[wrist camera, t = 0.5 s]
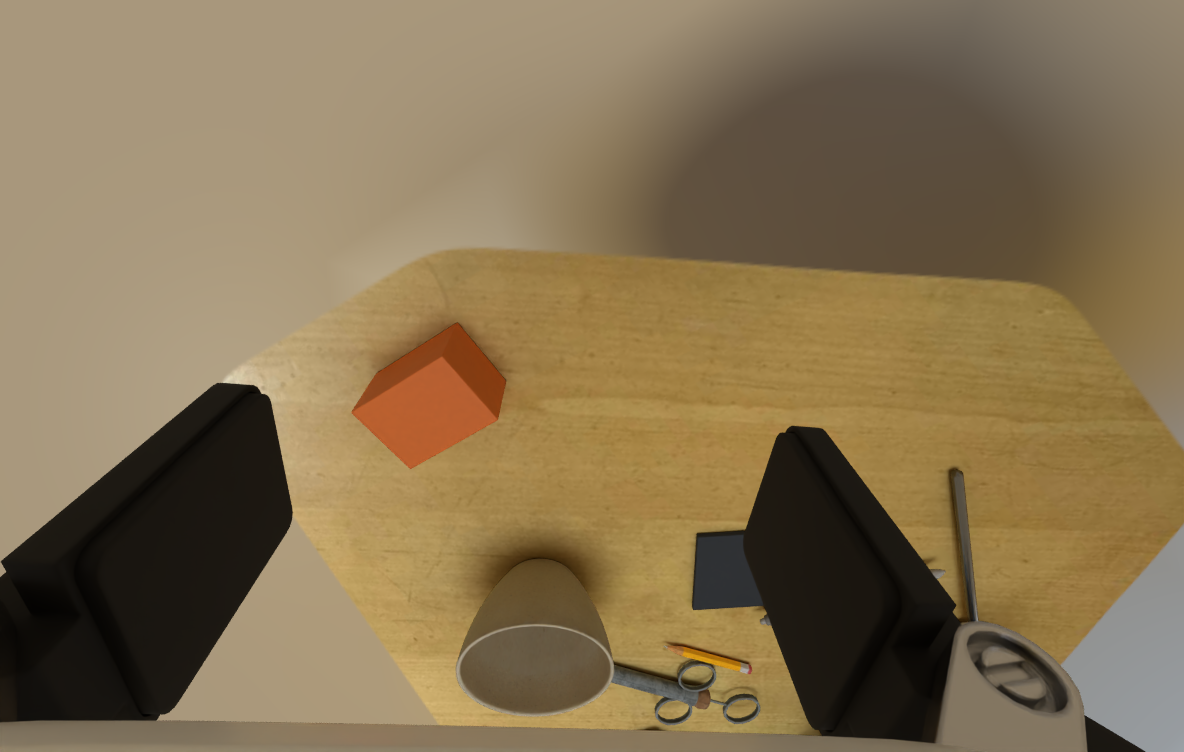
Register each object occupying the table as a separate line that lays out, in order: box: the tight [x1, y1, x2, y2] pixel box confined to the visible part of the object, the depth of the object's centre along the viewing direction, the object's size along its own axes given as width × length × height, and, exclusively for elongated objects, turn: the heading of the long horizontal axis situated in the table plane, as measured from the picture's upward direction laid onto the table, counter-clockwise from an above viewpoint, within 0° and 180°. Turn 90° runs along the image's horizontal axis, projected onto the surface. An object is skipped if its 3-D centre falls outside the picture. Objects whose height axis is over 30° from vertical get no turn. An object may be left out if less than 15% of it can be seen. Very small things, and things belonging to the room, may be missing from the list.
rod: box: [951, 470, 978, 622], centre depth 39 cm, size 1×19×1 cm
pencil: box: [664, 646, 752, 674], centre depth 45 cm, size 1×9×1 cm
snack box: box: [351, 323, 506, 469], centre depth 29 cm, size 6×4×4 cm
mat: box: [692, 531, 764, 610], centre depth 40 cm, size 8×7×1 cm
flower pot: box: [456, 559, 614, 716], centre depth 37 cm, size 10×10×7 cm
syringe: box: [611, 660, 760, 725], centre depth 46 cm, size 8×18×2 cm, turn 65°
